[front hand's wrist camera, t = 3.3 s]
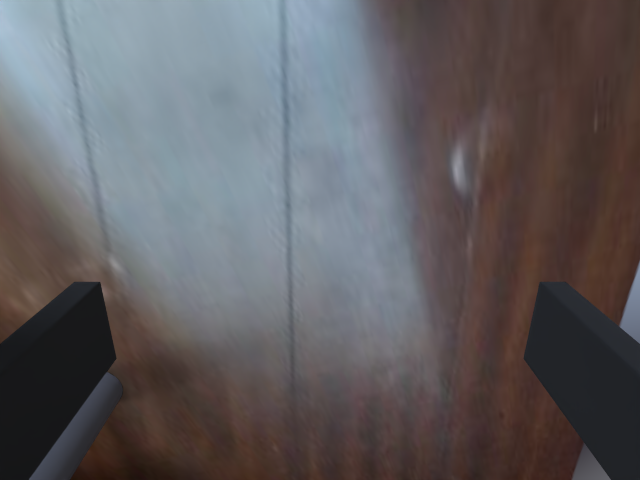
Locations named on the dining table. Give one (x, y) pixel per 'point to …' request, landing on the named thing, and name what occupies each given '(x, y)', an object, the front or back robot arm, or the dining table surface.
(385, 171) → the dining table surface
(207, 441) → the dining table surface
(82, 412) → the bottle
